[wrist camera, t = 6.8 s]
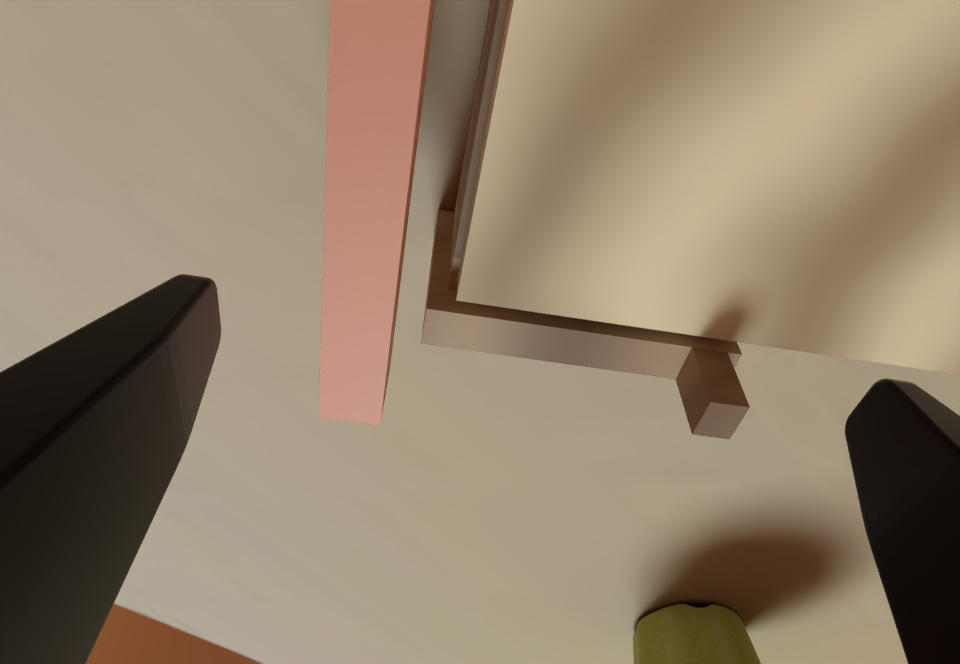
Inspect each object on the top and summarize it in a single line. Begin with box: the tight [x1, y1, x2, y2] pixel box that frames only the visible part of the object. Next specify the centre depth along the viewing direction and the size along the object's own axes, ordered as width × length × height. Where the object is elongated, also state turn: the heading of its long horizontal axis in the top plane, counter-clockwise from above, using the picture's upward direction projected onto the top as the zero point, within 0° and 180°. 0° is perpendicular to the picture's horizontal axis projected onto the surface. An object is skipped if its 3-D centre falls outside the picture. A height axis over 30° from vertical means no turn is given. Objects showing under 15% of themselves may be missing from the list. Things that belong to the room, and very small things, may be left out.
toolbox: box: [421, 0, 750, 439], centre depth 16 cm, size 20×12×7 cm, turn 80°
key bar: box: [319, 0, 435, 425], centre depth 13 cm, size 2×14×2 cm, turn 170°
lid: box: [456, 0, 960, 375], centre depth 14 cm, size 20×9×4 cm, turn 80°
